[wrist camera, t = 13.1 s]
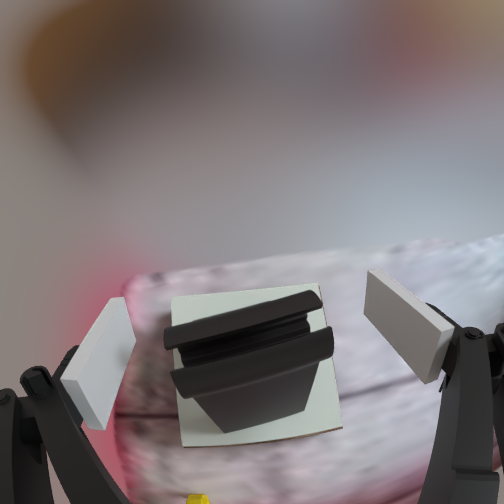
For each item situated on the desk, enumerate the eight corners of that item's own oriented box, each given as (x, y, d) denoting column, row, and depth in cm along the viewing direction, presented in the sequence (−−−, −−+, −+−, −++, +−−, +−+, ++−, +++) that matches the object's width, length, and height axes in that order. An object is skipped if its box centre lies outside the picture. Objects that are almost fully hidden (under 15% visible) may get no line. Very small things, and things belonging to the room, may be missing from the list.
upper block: (307, 298, 27) (317, 282, 24) (328, 422, 22) (342, 426, 18) (180, 310, 26) (171, 296, 23) (191, 438, 21) (182, 446, 17)
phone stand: (194, 321, 22) (147, 248, 11) (268, 302, 23) (288, 215, 12) (224, 433, 18) (199, 477, 8) (303, 411, 19) (365, 427, 8)
